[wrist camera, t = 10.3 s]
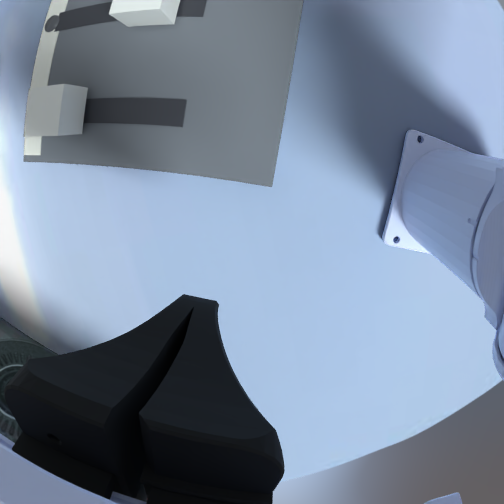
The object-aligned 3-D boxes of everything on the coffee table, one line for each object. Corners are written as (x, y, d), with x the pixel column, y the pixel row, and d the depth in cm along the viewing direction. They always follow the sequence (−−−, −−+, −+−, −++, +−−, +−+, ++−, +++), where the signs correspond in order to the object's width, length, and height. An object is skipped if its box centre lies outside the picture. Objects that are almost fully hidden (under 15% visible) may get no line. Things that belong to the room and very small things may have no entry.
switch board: (314, -79, 11) (318, -94, 9) (271, 182, 19) (272, 187, 17) (96, -68, 11) (85, -78, 9) (39, 158, 19) (22, 162, 17)
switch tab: (87, 87, 15) (64, 83, 12) (82, 133, 16) (57, 135, 13) (53, 90, 15) (28, 88, 12) (48, 134, 16) (23, 136, 13)
